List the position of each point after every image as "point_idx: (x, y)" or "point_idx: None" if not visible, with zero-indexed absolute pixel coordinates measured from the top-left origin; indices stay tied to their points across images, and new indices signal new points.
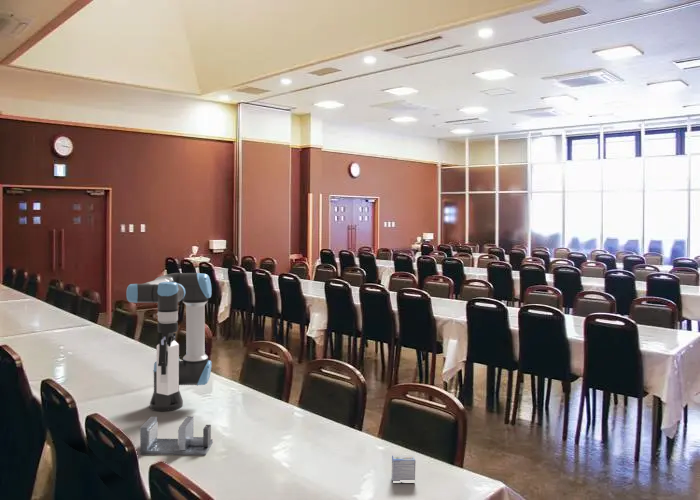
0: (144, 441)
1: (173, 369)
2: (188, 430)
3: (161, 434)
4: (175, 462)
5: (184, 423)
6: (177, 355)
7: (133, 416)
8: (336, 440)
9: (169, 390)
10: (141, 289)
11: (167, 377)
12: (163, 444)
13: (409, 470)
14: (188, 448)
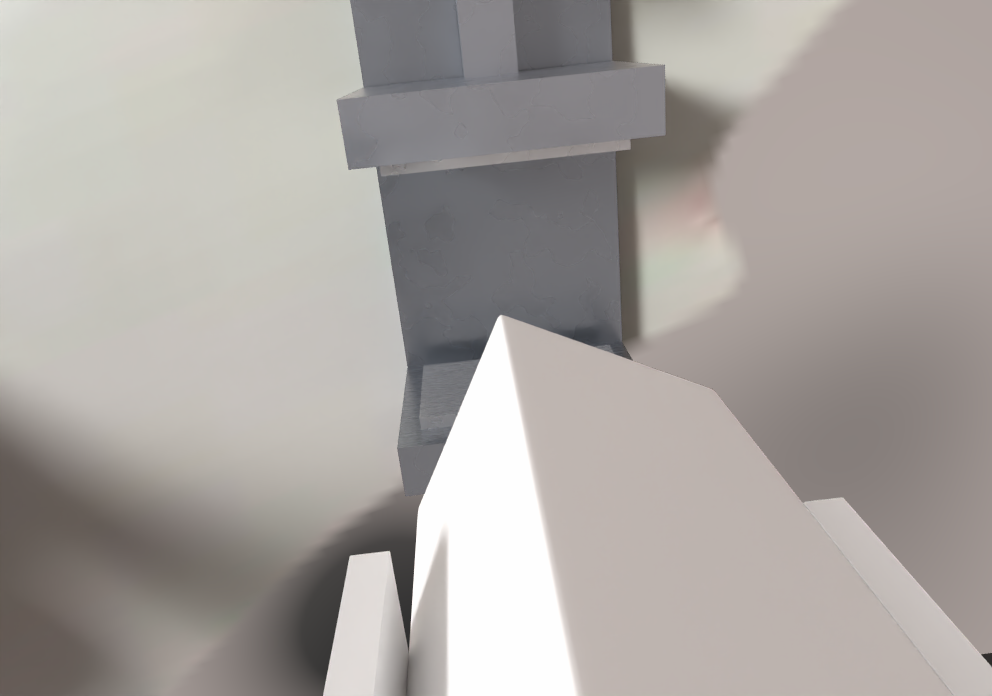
0: None
1: (762, 629)
2: (533, 75)
3: (265, 385)
4: (739, 84)
5: (556, 118)
6: None
7: (12, 680)
8: None
9: (710, 408)
10: None
11: (903, 568)
12: (507, 277)
13: None
14: (561, 53)
